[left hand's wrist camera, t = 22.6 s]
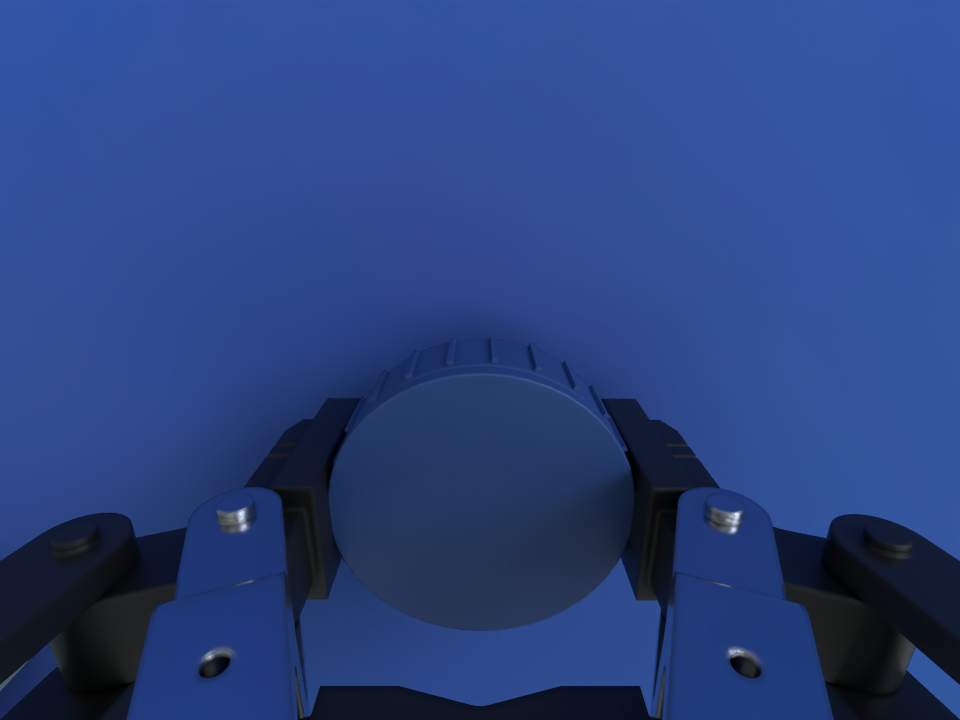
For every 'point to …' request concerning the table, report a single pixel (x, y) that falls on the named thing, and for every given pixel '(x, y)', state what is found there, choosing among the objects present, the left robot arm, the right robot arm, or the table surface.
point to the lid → (481, 487)
